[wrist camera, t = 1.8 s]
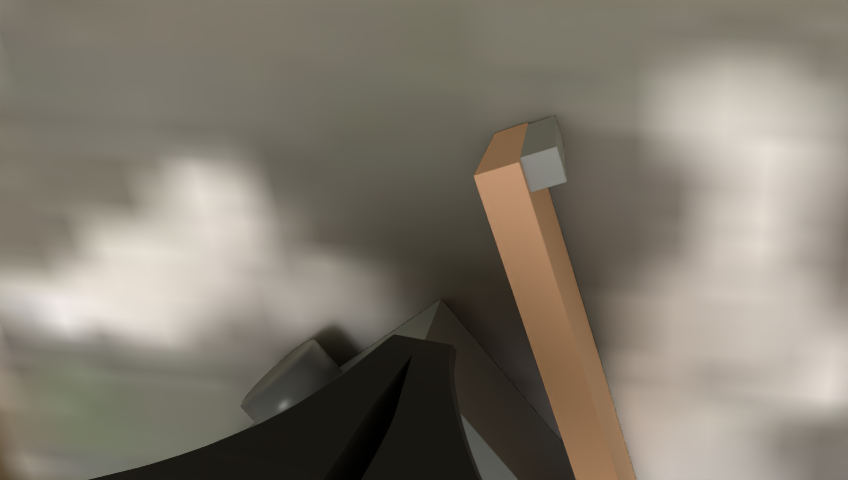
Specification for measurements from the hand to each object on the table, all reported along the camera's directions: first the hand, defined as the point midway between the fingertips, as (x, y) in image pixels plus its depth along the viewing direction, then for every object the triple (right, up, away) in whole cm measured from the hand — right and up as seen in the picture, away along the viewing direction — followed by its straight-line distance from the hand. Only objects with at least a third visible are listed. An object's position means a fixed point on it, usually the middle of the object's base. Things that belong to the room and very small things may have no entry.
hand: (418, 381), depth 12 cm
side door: (+5, 0, +7) cm, 9 cm away
